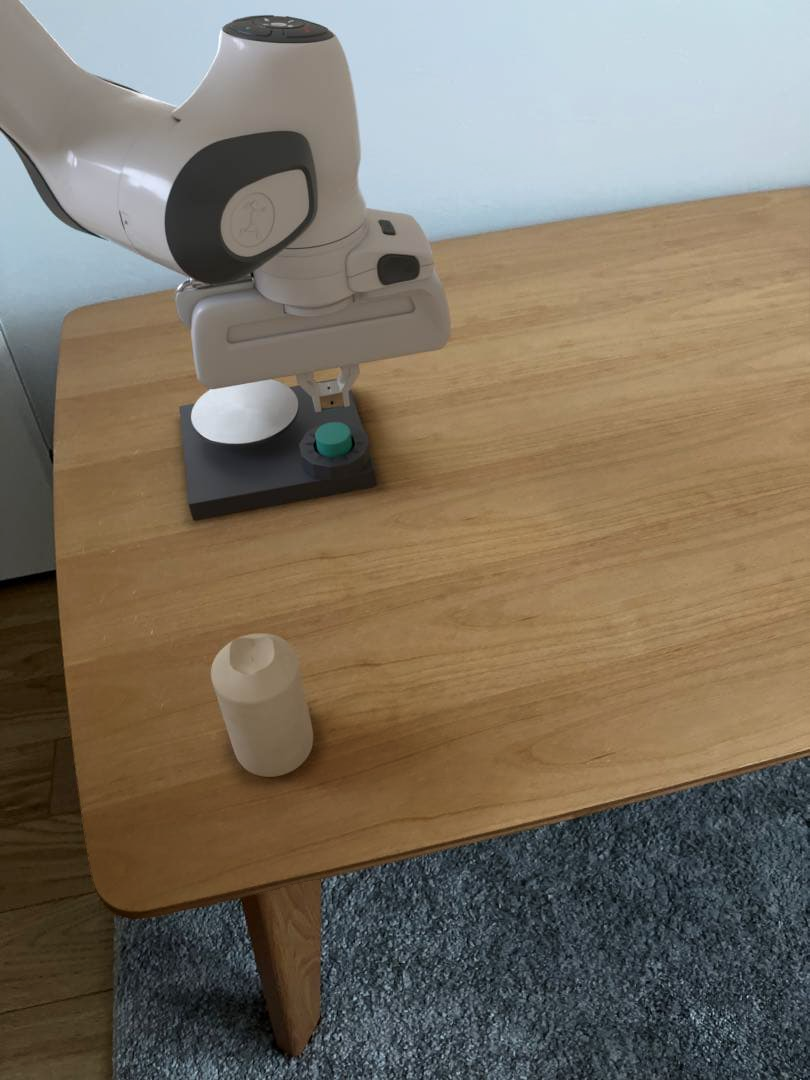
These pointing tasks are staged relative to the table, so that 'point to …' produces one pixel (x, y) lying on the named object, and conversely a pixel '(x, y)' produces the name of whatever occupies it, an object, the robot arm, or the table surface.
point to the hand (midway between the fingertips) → (331, 405)
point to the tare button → (333, 439)
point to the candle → (263, 703)
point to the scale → (274, 464)
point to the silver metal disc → (245, 413)
